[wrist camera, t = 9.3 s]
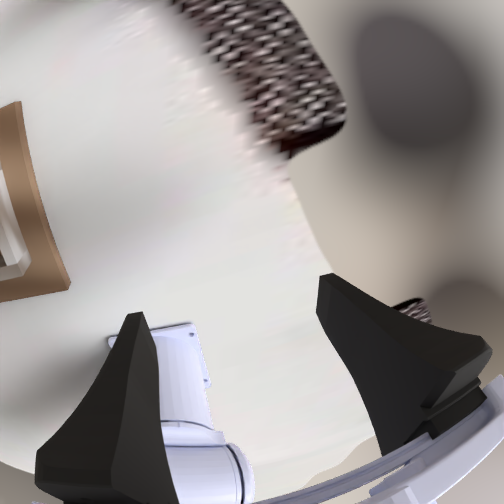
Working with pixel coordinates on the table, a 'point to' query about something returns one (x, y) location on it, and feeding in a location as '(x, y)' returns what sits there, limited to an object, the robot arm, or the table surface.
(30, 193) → the walnut housing
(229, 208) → the table surface
